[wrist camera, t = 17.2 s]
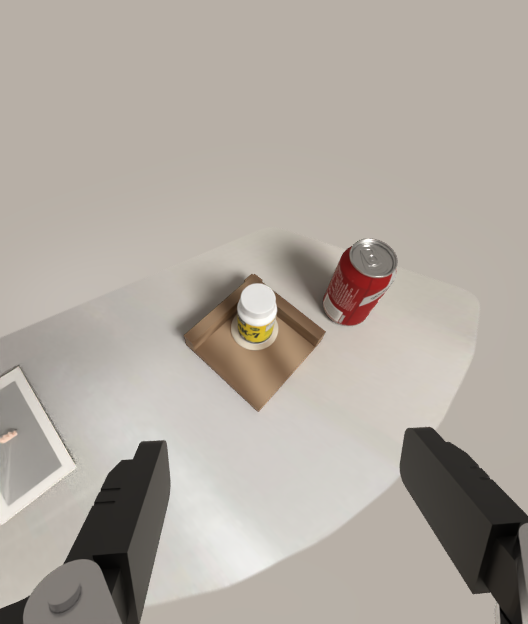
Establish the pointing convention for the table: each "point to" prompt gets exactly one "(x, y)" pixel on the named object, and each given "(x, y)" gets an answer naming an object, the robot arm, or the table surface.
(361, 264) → the soda can
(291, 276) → the table surface
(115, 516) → the robot arm
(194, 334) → the wooden tray
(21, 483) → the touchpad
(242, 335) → the supplement bottle
